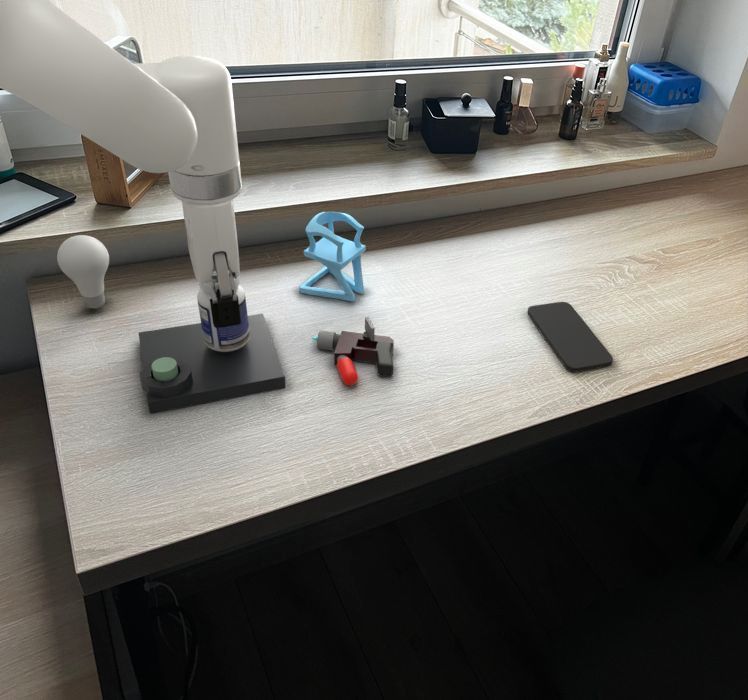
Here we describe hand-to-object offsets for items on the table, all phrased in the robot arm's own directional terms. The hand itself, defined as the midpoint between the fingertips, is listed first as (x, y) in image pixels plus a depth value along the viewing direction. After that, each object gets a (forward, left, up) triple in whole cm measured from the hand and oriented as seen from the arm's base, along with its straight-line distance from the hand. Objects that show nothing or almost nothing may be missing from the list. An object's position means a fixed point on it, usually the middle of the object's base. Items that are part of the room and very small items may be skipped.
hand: (222, 308), depth 91 cm
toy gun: (+15, -6, -8) cm, 18 cm away
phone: (+47, -9, -8) cm, 48 cm away
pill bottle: (0, 0, -5) cm, 5 cm away
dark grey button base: (-2, -1, -8) cm, 8 cm away
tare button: (-8, -5, -4) cm, 11 cm away
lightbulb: (-15, +16, -8) cm, 23 cm away
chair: (+18, +12, -8) cm, 22 cm away
